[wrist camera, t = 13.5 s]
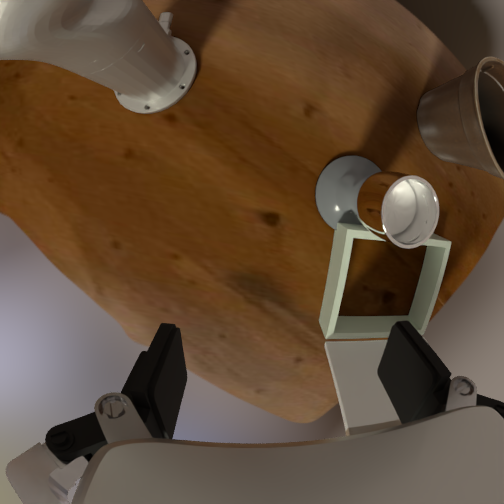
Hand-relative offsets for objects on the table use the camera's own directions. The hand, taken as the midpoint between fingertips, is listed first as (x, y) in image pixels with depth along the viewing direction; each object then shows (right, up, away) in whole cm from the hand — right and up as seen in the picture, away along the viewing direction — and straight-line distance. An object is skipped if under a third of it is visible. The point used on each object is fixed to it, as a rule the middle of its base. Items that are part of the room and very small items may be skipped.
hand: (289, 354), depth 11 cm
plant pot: (+29, +24, +21) cm, 44 cm away
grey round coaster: (+12, +12, +25) cm, 30 cm away
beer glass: (+13, +12, +24) cm, 30 cm away
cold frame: (+19, 0, +28) cm, 34 cm away
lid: (+18, -12, +19) cm, 29 cm away
